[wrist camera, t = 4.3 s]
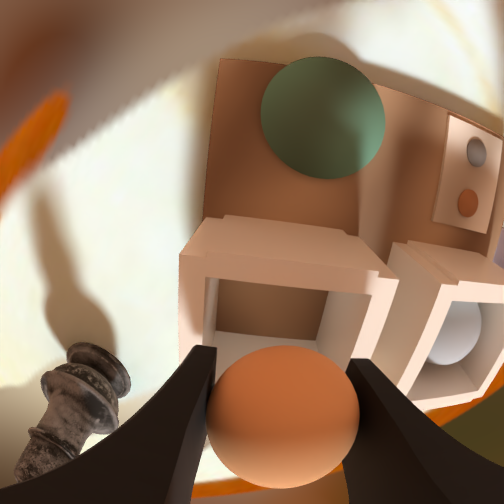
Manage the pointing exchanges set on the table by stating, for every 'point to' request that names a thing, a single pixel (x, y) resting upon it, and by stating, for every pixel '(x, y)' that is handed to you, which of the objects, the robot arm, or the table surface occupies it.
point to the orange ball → (282, 416)
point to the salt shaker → (74, 408)
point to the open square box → (440, 323)
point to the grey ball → (456, 333)
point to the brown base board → (342, 174)
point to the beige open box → (283, 274)
